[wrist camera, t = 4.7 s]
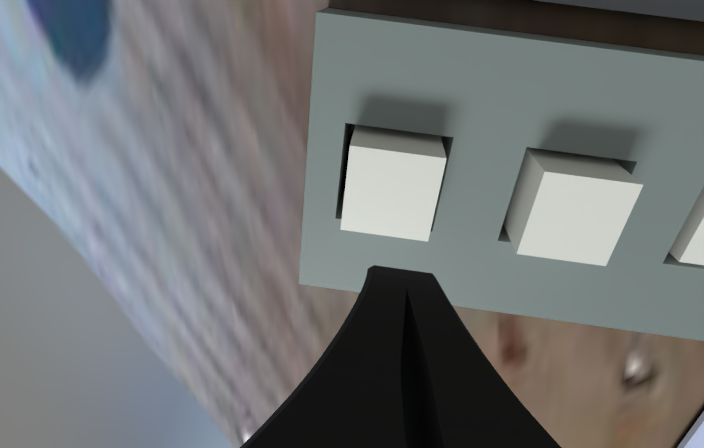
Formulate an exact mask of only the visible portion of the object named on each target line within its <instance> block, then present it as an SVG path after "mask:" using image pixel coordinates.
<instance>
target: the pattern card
mask: <svg viewBox="0 0 704 448" xmlns="http://www.w3.org/2000/svg"><path fill="white" fill-rule="evenodd" d="M535 1H543V2H551V3H559V4H567V5H575V6H583V7H591V8H599V9H607V10H615V11H623V12H631V13H639V14H647V15H655V16H663V17H671V18H679V19H687V20H695V21H703V22H704V0H535Z"/></svg>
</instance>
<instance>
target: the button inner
mask: <svg viewBox="0 0 704 448" xmlns="http://www.w3.org/2000/svg"><path fill="white" fill-rule="evenodd" d="M669 253H670V254H671V255H672V256H673V257H674V258H675V259H676V260H677V261H678V262H683V263H691V264H698V265H704V187H703V189H702V191H701V193H700V194H699V196H698V198H697V200H696V202H695V204H694V206H693V207H692V209H691V211H690V213H689V215H688V217H687V219H686V221H685V222H684V224H683V226H682V228H681V230H680V232H679V234H678V235H677V237H676V239H675V241H674V243H673V245H672V247H671V249H670V250H669Z"/></svg>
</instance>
